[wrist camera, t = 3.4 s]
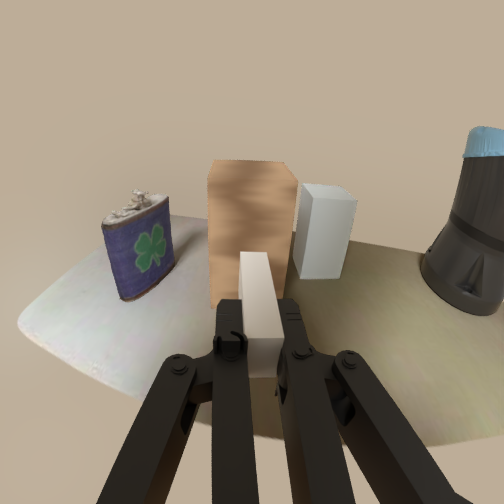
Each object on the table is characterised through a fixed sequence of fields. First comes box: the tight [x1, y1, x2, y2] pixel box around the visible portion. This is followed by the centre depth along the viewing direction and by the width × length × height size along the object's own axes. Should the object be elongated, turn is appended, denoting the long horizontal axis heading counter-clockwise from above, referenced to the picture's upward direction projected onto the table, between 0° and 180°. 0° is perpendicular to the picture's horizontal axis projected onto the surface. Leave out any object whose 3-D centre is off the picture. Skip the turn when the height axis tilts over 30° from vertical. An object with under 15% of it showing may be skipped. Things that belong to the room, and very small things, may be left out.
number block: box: [292, 183, 357, 279], centre depth 32 cm, size 5×5×10 cm
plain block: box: [208, 160, 298, 308], centre depth 27 cm, size 7×7×13 cm
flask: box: [101, 189, 174, 302], centre depth 28 cm, size 9×3×11 cm, turn 157°
